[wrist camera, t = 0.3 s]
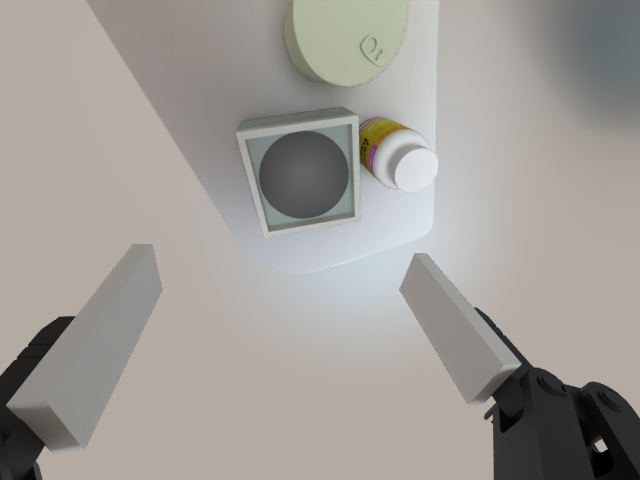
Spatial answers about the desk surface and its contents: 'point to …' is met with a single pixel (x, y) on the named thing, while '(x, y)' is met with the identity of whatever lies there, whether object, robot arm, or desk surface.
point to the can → (344, 38)
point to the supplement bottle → (396, 155)
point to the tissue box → (303, 169)
